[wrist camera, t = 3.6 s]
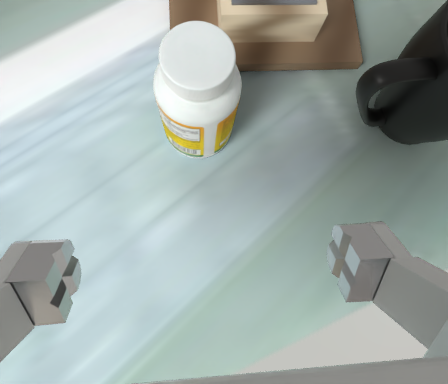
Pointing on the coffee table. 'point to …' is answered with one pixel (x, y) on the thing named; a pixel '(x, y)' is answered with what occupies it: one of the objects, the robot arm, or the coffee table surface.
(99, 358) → the coffee table surface
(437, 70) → the mug
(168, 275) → the coffee table surface
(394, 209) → the coffee table surface
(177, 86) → the supplement bottle
